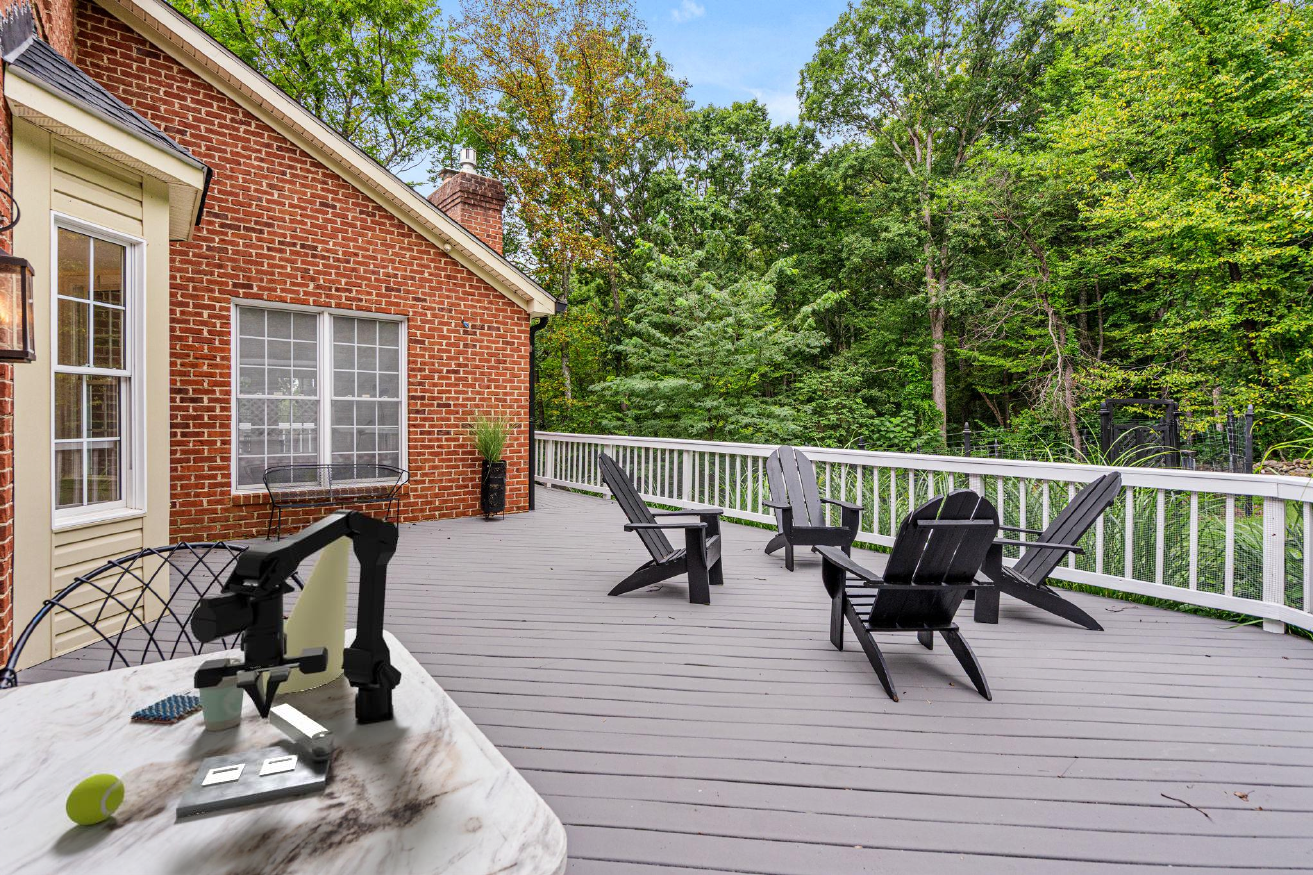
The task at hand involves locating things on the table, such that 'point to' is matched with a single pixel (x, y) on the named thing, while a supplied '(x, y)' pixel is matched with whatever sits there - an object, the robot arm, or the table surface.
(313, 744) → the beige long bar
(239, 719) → the coffee cup
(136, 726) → the table surface
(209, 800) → the panel
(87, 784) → the tennis ball
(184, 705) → the woven mat
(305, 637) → the cone light
